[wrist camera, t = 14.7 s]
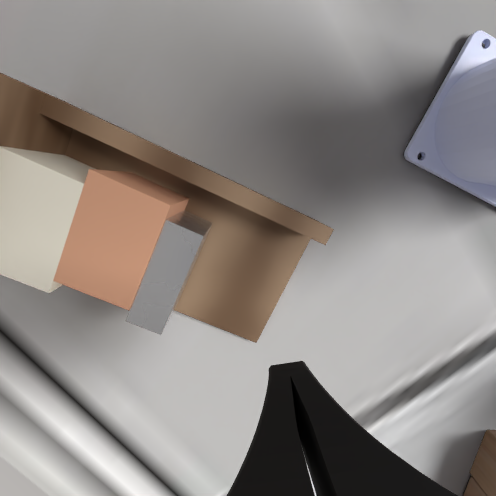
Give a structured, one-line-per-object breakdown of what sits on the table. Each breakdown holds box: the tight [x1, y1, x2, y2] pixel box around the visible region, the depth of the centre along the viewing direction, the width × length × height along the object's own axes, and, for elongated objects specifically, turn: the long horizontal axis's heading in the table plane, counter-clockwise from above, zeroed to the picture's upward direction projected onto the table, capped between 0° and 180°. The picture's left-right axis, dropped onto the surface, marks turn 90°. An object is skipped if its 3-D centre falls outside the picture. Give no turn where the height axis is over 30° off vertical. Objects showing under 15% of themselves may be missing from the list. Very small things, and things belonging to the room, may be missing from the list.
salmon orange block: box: [53, 169, 189, 310], centre depth 16 cm, size 4×6×5 cm, turn 155°
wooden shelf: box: [0, 73, 334, 343], centre depth 16 cm, size 18×10×7 cm, turn 65°
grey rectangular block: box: [126, 210, 212, 335], centre depth 17 cm, size 2×6×4 cm, turn 155°
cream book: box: [0, 146, 95, 293], centre depth 16 cm, size 4×6×5 cm, turn 155°
